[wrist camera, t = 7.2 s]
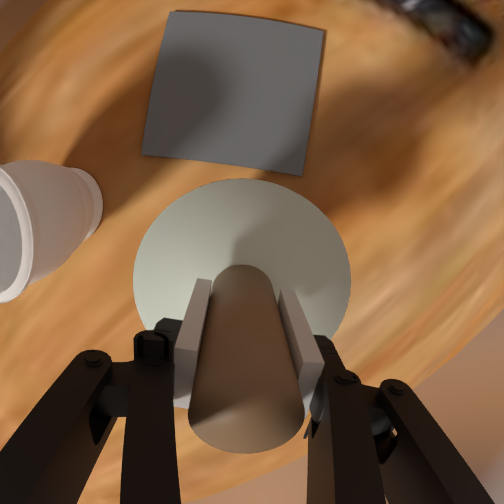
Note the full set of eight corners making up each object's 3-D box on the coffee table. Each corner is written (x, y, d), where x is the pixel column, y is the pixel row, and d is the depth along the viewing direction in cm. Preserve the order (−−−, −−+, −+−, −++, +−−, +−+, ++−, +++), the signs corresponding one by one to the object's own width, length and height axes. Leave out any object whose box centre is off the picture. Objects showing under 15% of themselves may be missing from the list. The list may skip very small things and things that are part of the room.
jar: (86, 139, 29) (-5, 132, 15) (130, 221, 32) (57, 266, 17) (23, 192, 30) (-68, 215, 16) (62, 266, 33) (-16, 323, 18)
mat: (142, 154, 30) (140, 154, 29) (170, 13, 26) (169, 11, 25) (301, 176, 31) (302, 176, 31) (322, 33, 27) (323, 31, 26)
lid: (137, 358, 21) (84, 481, 10) (146, 165, 17) (34, 175, 7) (318, 379, 22) (360, 504, 11) (365, 199, 18) (491, 246, 8)
